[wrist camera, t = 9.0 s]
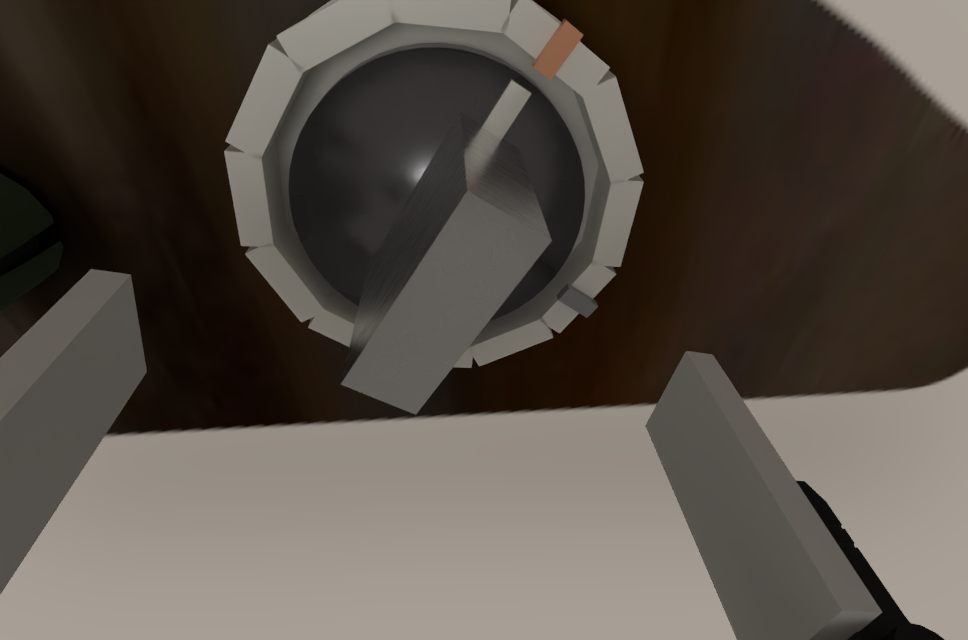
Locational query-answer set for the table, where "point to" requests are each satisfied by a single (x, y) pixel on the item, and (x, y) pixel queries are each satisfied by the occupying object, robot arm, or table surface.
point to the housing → (452, 20)
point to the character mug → (23, 242)
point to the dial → (432, 206)
